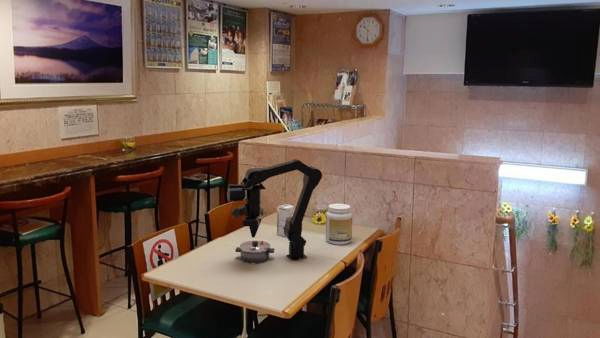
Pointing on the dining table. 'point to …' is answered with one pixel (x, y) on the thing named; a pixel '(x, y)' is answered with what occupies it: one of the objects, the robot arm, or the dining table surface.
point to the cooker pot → (255, 256)
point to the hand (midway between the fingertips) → (253, 237)
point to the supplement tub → (339, 224)
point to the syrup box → (283, 217)
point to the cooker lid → (255, 246)
